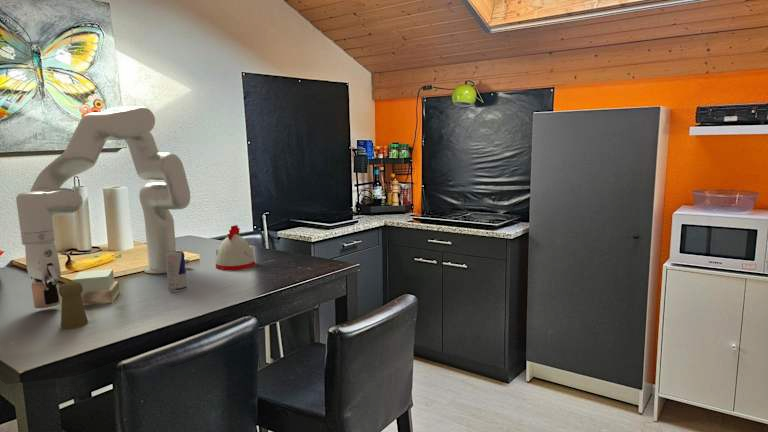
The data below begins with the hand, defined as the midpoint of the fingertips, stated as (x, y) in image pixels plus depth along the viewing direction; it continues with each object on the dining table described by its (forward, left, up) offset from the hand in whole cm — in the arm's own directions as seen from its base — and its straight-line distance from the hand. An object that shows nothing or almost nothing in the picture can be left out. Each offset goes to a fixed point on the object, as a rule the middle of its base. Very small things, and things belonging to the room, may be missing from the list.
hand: (46, 300), depth 145 cm
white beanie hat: (-50, -37, -3) cm, 62 cm away
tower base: (-10, -8, -3) cm, 13 cm away
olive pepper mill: (-11, +15, -3) cm, 19 cm away
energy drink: (-33, -10, -3) cm, 34 cm away
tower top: (-10, -8, +1) cm, 13 cm away
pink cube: (0, 0, -1) cm, 1 cm away
